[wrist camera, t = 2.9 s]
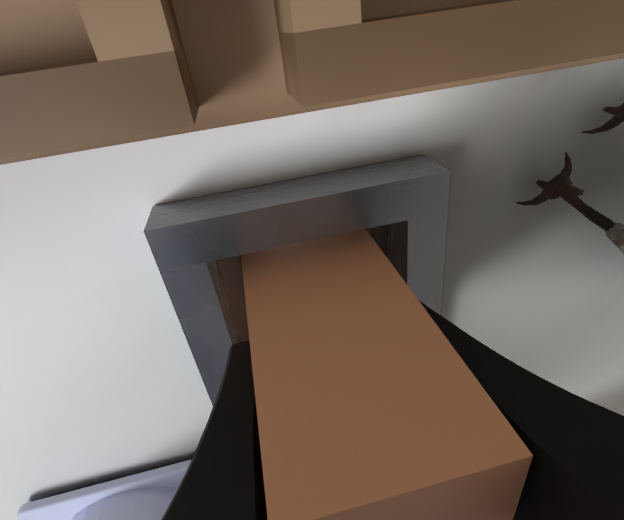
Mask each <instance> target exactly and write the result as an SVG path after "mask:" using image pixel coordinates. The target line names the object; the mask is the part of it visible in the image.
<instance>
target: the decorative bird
mask: <svg viewBox="0 0 624 520" xmlns="http://www.w3.org/2000/svg"><path fill="white" fill-rule="evenodd" d="M603 110H604V111H605V112H607V113H609V114H612V115H614V117H613V118H612V119H610V120H609V121H608V122H607V123H605V124H604V125H603V126H601V127H599V128H596V129H593V130H590V131H584V132H581V133H591V134H593V133H598V132H604V131H608V130H610V129H612V128H614V127H616V126H617V125H619V124H620V123H622V122H623V121H624V103H623V104H622V105H621V106H619V107H606V108H604V109H603ZM571 171H572V164H571V159H570V157H569V156H568V154H567V153H566V152H565V166H564V168H563V170H562V171H561V173H560V174H558V175H557V176H556V177H554V178H553V179H552V180H550V181H549V182H546V181H542V180H538V181H536V184H537V185H538V186H540V187H541V188H542V189H543V190H542V192H541V194H540V195H538V196H537V197H535V198H534V199H532V200H529V201H524V202H516V203H517V204H521V205H537V204H540V203H542V202H545V201H546V200H547V199H556V198H559V197H562V198H563V199H564V200H565V201H567V202H568V203H569V204H570V205H572V206H573V207H574V208H575V209H577V210H578V211H579V212H580V213H582V214H583V215H584V216H585V217H587V218H588V219H589V220H590V221H591V222H593V223H595V224H596V225H598V226H599V227H601V228H602V229H604V230H605V232H606V236H607V237H608V238H609V239H610V240H611V241H612V242H613V243H614V244H615V245H616V246H617V247H618V248H619V249H620V250H621V251H622V252H623V254H624V225H622V224H620V223H614V222H613V221H612V220H610V219H609V218H607V217H606V216H604V215H602V214H601V213H599V212H598V211H596V210H594V209H593V208H591V207H589V206H588V205H586V204H585V203H584V202H583V201H582V200H580V199H579V198H578V197H577V196H580V195H582V194H583V191H584V190H581V189H579V188H577V187H574V186H572V185H571V184H572V182H571V180H570V179H569V177H570V175H571Z"/></svg>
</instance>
